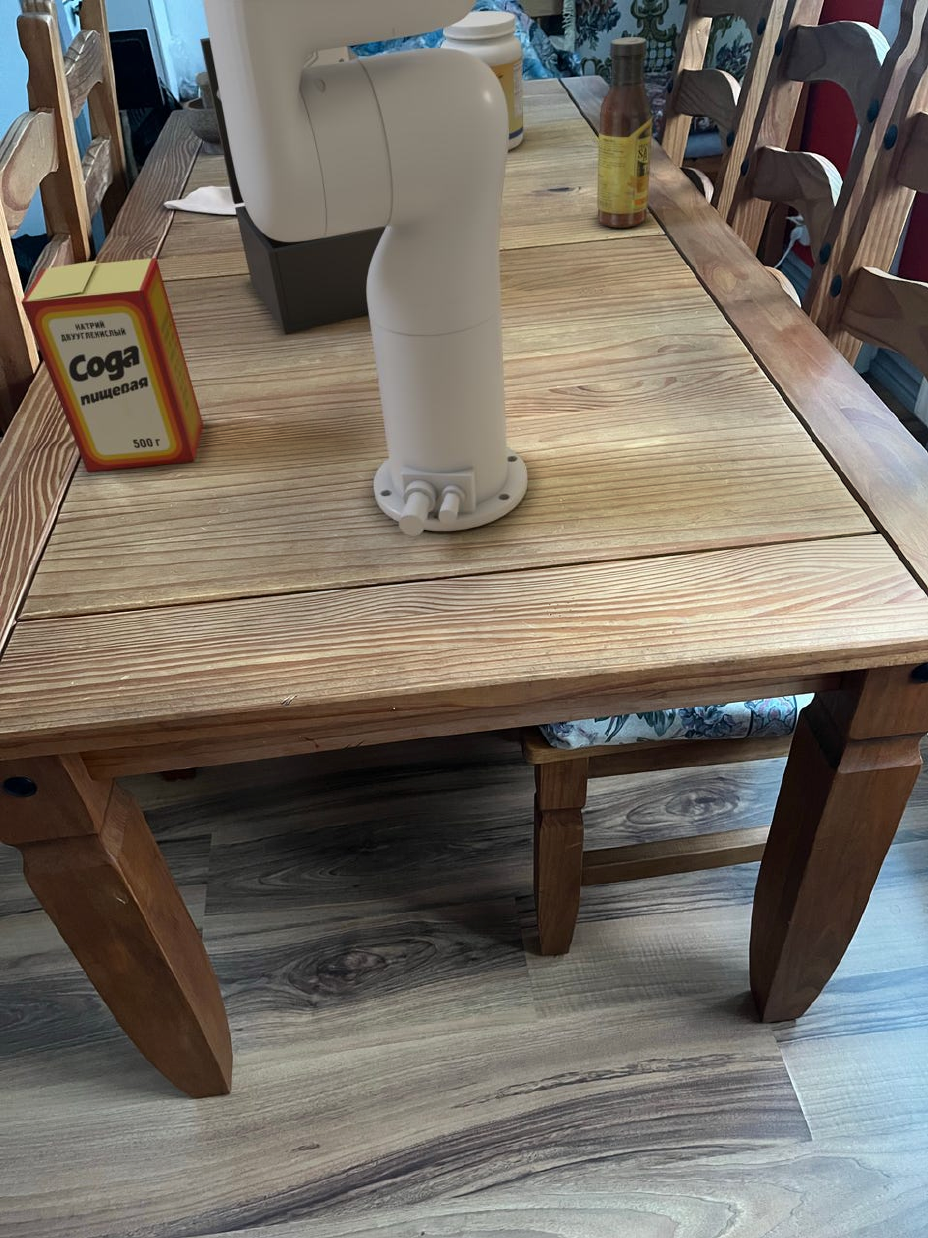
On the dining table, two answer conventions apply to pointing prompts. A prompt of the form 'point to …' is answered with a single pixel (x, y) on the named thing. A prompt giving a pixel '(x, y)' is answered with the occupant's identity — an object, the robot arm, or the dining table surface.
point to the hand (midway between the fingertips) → (308, 163)
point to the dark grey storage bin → (309, 274)
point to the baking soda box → (116, 362)
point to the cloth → (207, 201)
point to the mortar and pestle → (204, 117)
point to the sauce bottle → (625, 138)
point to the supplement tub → (494, 57)
